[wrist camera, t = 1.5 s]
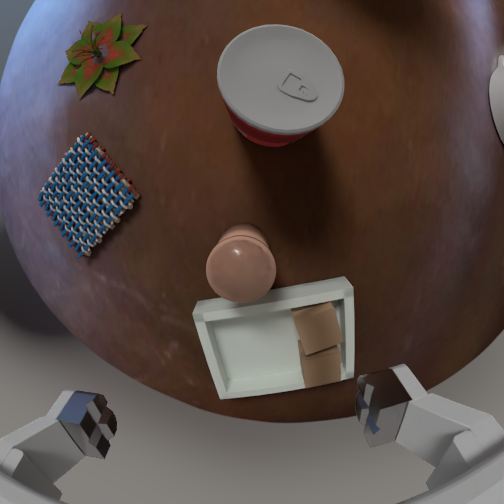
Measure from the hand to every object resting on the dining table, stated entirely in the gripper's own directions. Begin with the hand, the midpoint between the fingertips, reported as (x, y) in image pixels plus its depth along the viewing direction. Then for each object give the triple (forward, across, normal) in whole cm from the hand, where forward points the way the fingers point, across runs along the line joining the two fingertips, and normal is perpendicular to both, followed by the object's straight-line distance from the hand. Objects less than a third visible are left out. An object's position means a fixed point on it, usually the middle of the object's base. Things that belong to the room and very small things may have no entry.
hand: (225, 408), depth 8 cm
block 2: (+21, -7, +14) cm, 26 cm away
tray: (+22, -3, +12) cm, 25 cm away
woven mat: (+23, +16, -7) cm, 29 cm away
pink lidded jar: (+22, 0, +1) cm, 22 cm away
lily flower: (+23, +13, -24) cm, 35 cm away
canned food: (+22, -5, -13) cm, 26 cm away
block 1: (+21, -7, +9) cm, 24 cm away
